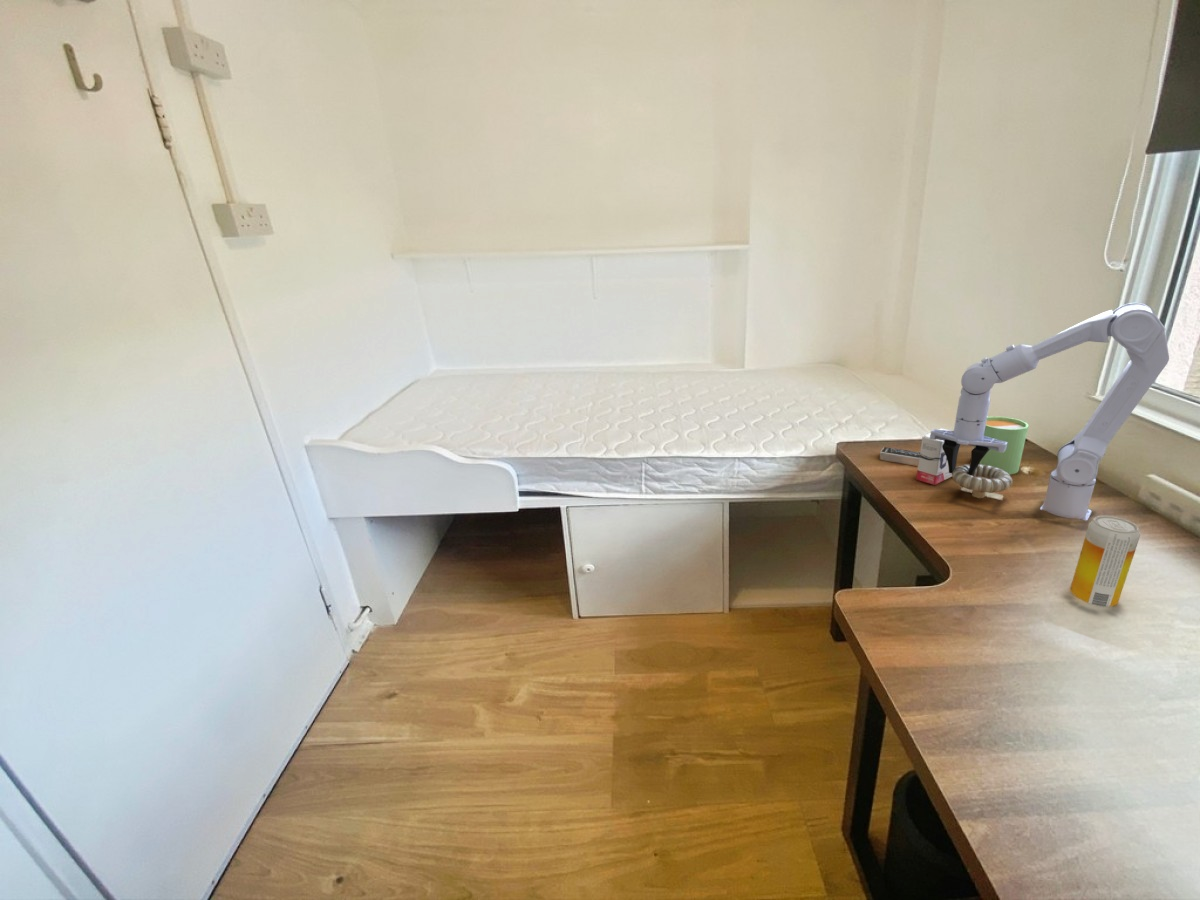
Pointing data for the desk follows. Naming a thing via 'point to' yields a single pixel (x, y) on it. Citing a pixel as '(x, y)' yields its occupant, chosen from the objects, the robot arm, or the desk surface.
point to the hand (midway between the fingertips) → (961, 473)
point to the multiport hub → (900, 456)
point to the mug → (1010, 433)
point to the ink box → (932, 461)
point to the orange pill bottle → (1105, 560)
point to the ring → (993, 483)
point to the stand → (983, 493)
